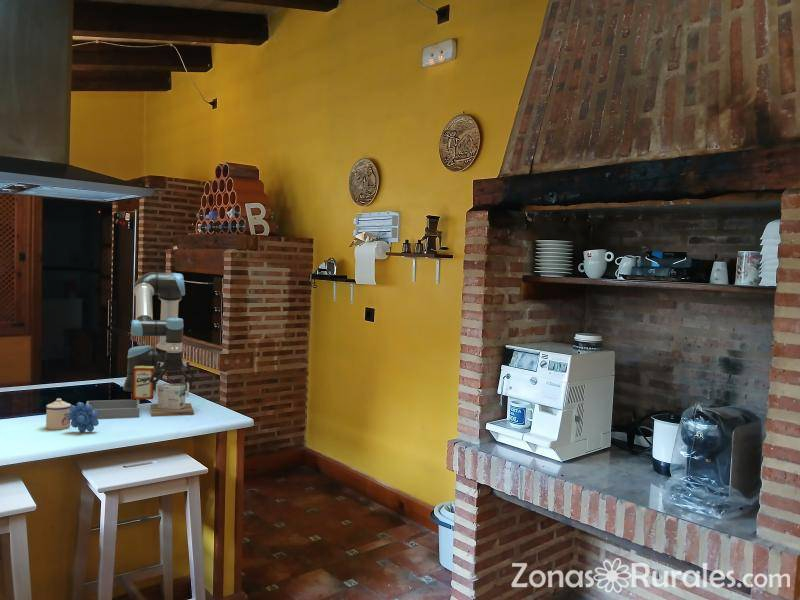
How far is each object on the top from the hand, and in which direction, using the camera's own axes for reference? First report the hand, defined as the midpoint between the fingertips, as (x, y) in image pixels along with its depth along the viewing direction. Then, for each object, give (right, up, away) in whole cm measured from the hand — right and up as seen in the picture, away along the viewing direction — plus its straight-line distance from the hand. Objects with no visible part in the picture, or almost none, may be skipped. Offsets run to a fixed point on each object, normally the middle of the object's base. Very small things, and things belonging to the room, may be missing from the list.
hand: (172, 397), depth 290 cm
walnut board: (0, -7, 0) cm, 7 cm away
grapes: (-20, -8, -43) cm, 48 cm away
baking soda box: (-24, -5, +25) cm, 35 cm away
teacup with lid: (-33, -7, -35) cm, 49 cm away
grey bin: (-23, -6, -10) cm, 26 cm away
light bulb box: (0, -5, 0) cm, 5 cm away
